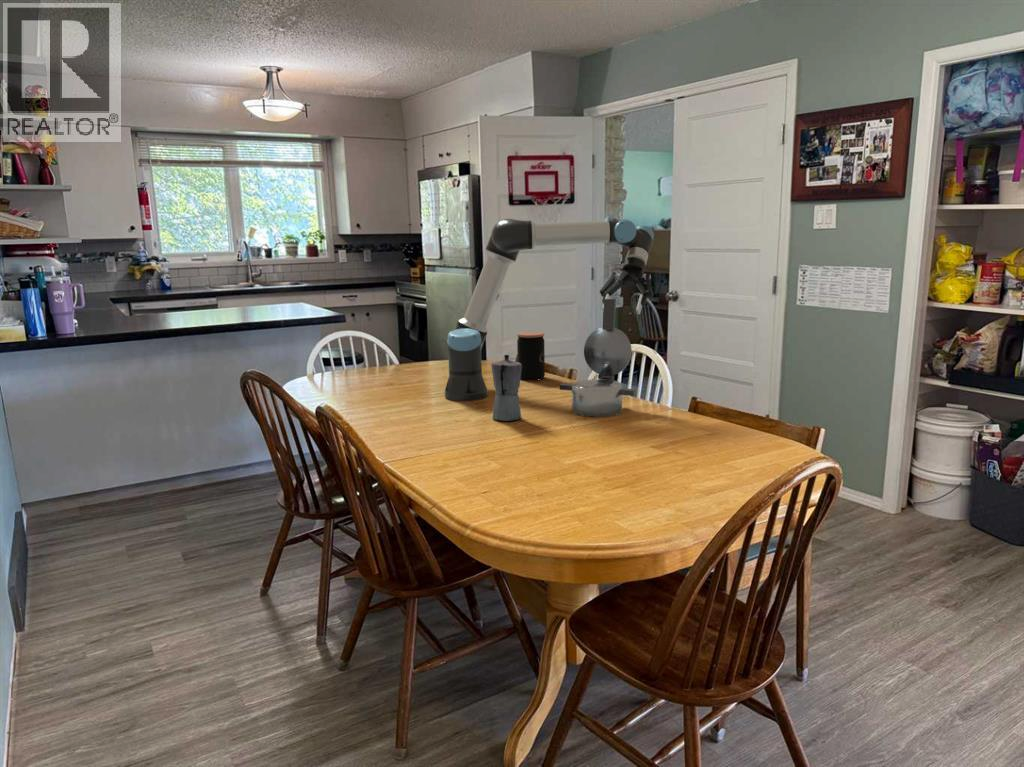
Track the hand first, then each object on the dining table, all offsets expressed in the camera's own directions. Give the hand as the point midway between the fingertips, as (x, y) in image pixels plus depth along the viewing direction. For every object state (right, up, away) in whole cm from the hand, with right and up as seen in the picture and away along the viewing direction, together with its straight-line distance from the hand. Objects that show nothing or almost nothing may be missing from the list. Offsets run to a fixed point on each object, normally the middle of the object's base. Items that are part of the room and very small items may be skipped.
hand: (620, 311), depth 236 cm
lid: (-6, -10, -10) cm, 15 cm away
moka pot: (-39, -36, -21) cm, 57 cm away
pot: (-9, -33, -13) cm, 37 cm away
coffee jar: (-29, -23, +39) cm, 54 cm away
